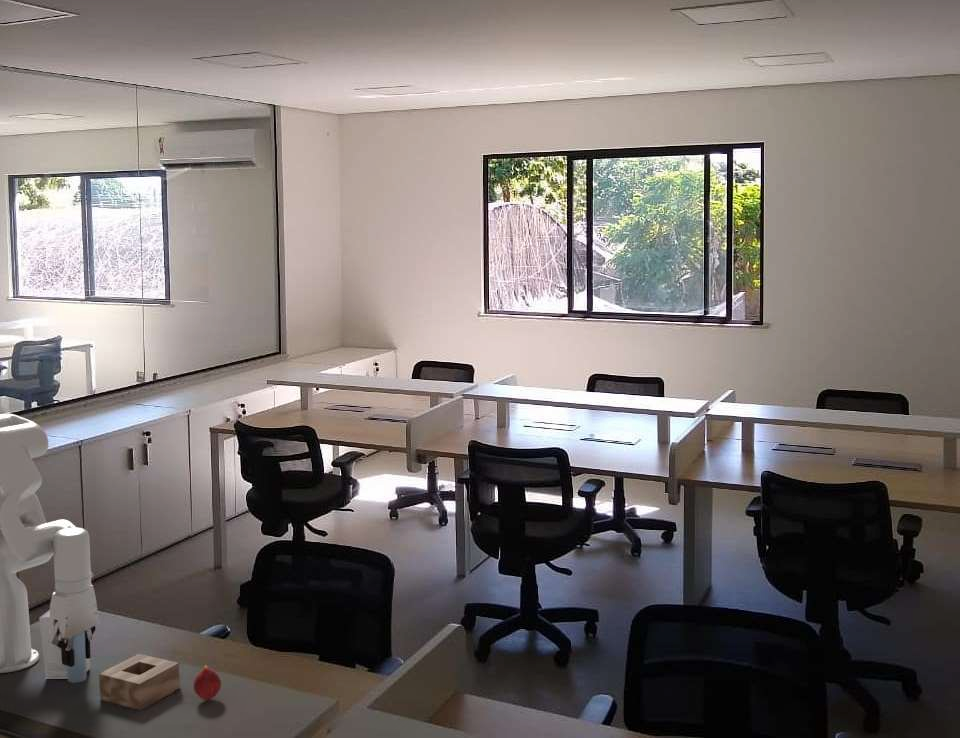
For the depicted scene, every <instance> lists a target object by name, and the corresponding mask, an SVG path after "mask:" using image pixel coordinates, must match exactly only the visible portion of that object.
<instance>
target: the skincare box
mask: <svg viewBox="0 0 960 738" xmlns="http://www.w3.org/2000/svg"><path fill="white" fill-rule="evenodd" d="M49 615H50V609H48V610H47V611H46V612H44V613H43V614H42V615H41V616H39V628H40V636H41V646H42V653H43V654H42V655H43V662H44V663H43V664H44V671H45V672H44V673H45V680H46V679H68V678H67V666H66V665H63V664H62V656H61V649H60V648H58V647H57V646H56V645H54V644H50V643H48V640H49V637H50V635H51V634H50V631H49ZM59 635H60V634H59ZM58 640H59V637H58ZM65 643H66V639H65ZM90 660H91V659H90V658H89V659H86V673H87V671H88V670H89V669H91V661H90ZM89 671H90V670H89ZM89 671H88V672H89Z"/></svg>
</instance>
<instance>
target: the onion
mask: <svg viewBox="0 0 960 738" xmlns="http://www.w3.org/2000/svg"><path fill="white" fill-rule="evenodd" d="M221 688H222V680H221V679H220V676H219V674H218V673H217V672H216V671H215V670H214V669H211V668H210V667H209V666H208V665H204V667H203V670H202V671H200V672H199V673H197V675H196V677H195V679H194V681H193V690H194V693H195V694H196V695H197V696H198V697H199V698H200V699H202V700H203V701H207V702H208V701H210V700H212V699H213V698H214V697H216V696H217V695H218V694H219V692H220V690H221Z"/></svg>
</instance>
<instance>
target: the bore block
mask: <svg viewBox="0 0 960 738" xmlns="http://www.w3.org/2000/svg"><path fill="white" fill-rule="evenodd" d="M98 679H99V681H98V682H99V683H98V684H99V696H100V698H99V699H100V700H101V701H104V702H108V703H113V704H116V705H119V706H123V707H128V708H131V709H134V710H138V711H143V710H144V709H146V708H148V707H149V706H151V705H153V704H154V703H156V702H158V701H160V700H162V699H163V698H165V697H167V696H168V695H170V694H172V693H174V692H176V691H177V689H178V690H179V689H181V685H180V684H181V683H180V682H181V681H180V680H181V679H180V664H179V662H176V661H172V660H168V659H163V658H159V657H156V656H155V657H154V656H150V655H147V654H142V653H138V654H135V655H134V656H131V657H129V658H128V659H126V660H123V661H121V662H120V663H118V664H115V665H114V666H112V667H110V668H107V669H105V670H104V671H102V672H100V673H99V672H98ZM175 690H176V691H175Z"/></svg>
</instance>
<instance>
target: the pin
mask: <svg viewBox="0 0 960 738" xmlns="http://www.w3.org/2000/svg"><path fill="white" fill-rule="evenodd" d="M71 649H73V650H74V666H72V667H69V666H67V678H68V680H67V682H69V683H74V684H75V683H80V682H83V681H84V682H85V680H86V679H87V672H86V651H85V631H83V632H80V633H78V634H76V635H74V636H73V637H72V646H71Z"/></svg>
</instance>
